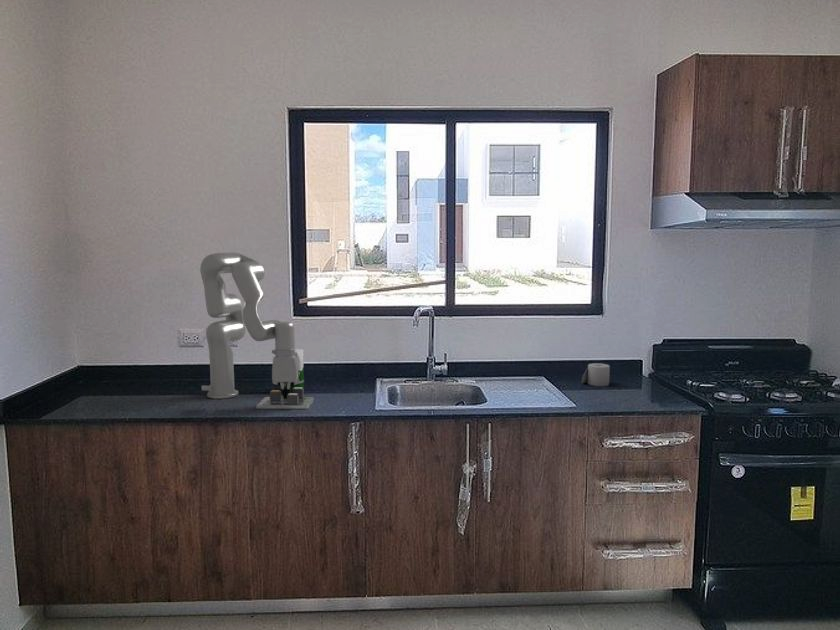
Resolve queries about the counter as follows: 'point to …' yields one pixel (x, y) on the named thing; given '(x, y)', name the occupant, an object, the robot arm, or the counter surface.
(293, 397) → the breaker front
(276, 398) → the block
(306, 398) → the panel
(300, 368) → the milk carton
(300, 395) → the breaker back
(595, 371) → the toilet tissue
